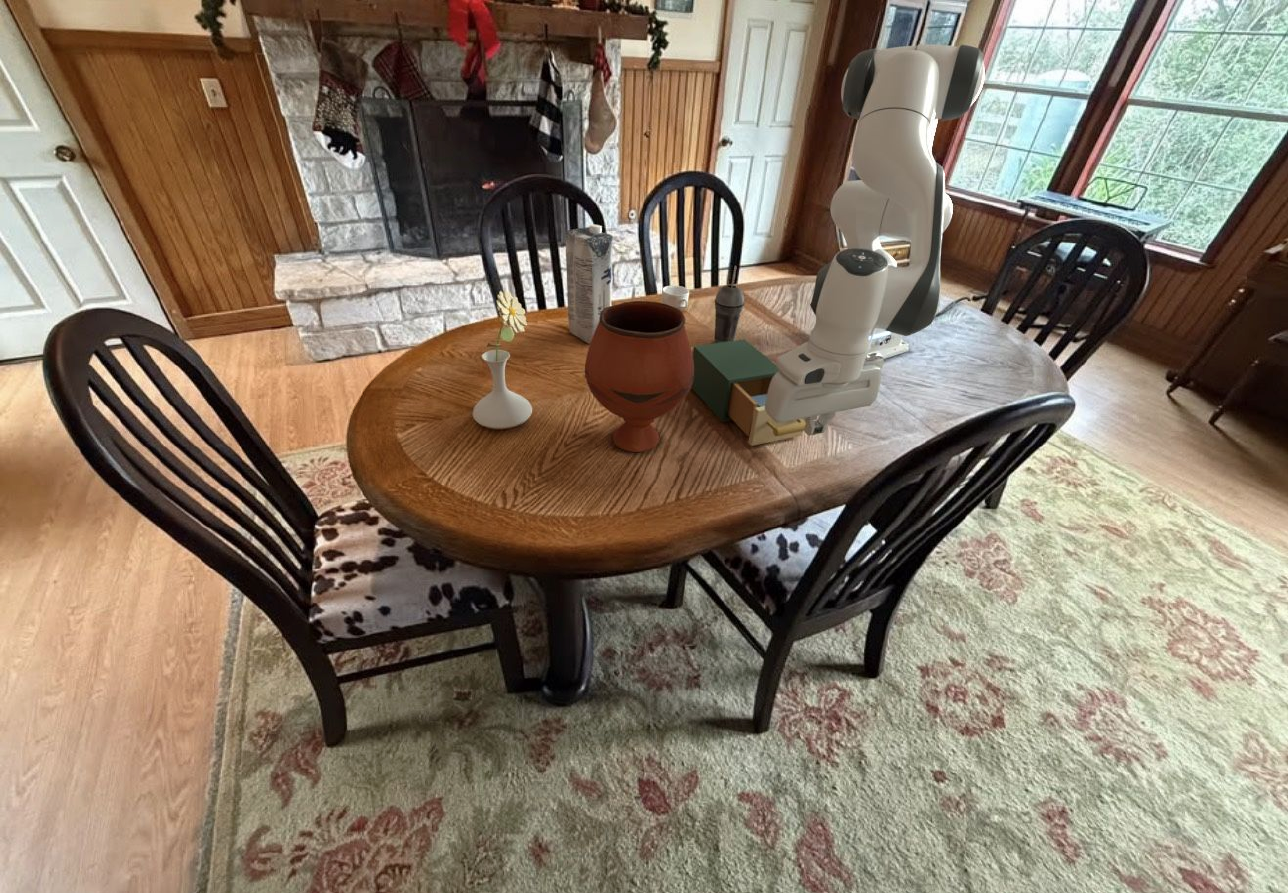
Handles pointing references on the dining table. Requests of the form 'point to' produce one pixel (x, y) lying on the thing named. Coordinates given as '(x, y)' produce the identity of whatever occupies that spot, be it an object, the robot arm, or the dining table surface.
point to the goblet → (639, 367)
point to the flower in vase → (503, 373)
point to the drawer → (758, 414)
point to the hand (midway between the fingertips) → (813, 432)
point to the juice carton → (588, 278)
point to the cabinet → (726, 371)
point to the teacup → (675, 296)
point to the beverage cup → (728, 311)
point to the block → (760, 399)
